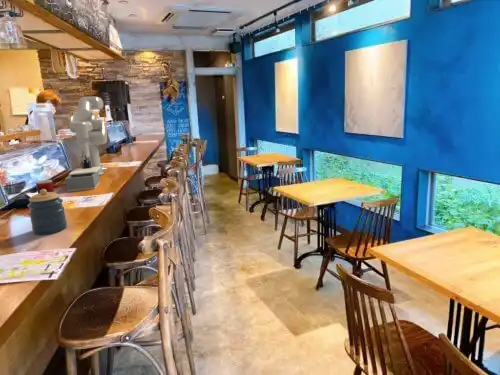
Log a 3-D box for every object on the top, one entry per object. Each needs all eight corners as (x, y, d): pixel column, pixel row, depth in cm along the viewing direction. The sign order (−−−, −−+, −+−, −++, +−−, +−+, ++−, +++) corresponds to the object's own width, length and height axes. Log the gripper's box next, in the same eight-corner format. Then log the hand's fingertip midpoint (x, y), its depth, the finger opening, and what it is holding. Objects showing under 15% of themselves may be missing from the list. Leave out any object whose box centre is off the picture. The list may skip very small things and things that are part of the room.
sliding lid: (75, 169, 252) (74, 161, 251) (100, 167, 256) (99, 159, 254) (69, 175, 233) (67, 166, 232) (95, 172, 237) (94, 163, 235)
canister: (59, 222, 164) (52, 184, 160) (73, 227, 156) (66, 187, 152) (27, 231, 155) (19, 190, 150) (40, 237, 147) (32, 194, 142)
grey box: (74, 184, 244) (72, 172, 242) (99, 182, 247) (98, 170, 245) (67, 191, 225) (64, 178, 223) (95, 188, 228) (93, 176, 226)
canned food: (58, 198, 210) (54, 179, 207) (49, 202, 202) (45, 182, 199) (45, 198, 210) (42, 179, 208) (36, 202, 203) (32, 182, 200)
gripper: (79, 140, 254) (83, 166, 258) (74, 142, 239) (79, 170, 243) (91, 139, 256) (95, 165, 260) (86, 141, 240) (91, 169, 245)
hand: (87, 167), depth 251 cm, fingers closed on sliding lid, 2 cm apart
